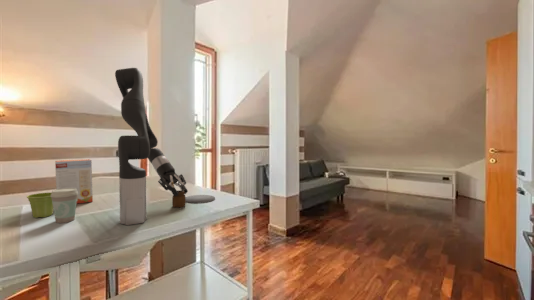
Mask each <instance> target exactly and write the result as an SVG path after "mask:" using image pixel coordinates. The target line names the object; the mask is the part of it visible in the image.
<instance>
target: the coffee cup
mask: <svg viewBox="0 0 534 300" xmlns="http://www.w3.org/2000/svg"><path fill="white" fill-rule="evenodd" d="M50 193H51V196H50V197H52V203H53V214H54V219H55V223H57V224H64V223H70V222H73V221H75V217H76V210H77V204H76V202H77V194H78V191H77V189H76V188H63V189H56V188H55V189H53V190H52V191H51V192H50Z"/></svg>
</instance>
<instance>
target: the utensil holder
mask: <svg viewBox="0 0 534 300" xmlns="http://www.w3.org/2000/svg"><path fill="white" fill-rule="evenodd" d="M172 184H173V182H172ZM181 184H182V183H181ZM181 184H180V185H181ZM173 186H174V188H175V189H176V187H175V184H173ZM183 188H184V187H183ZM181 189H182V188H181ZM181 189H179V190H177V192H178V193H179V194H178V195H177V196H176V197H175V196H174V195H173V194H172V202H171V203H172V207H173V208H183V207H185V206H186V203H187V202H186V198H185V197H186V194H185V191H182V190H181Z"/></svg>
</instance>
